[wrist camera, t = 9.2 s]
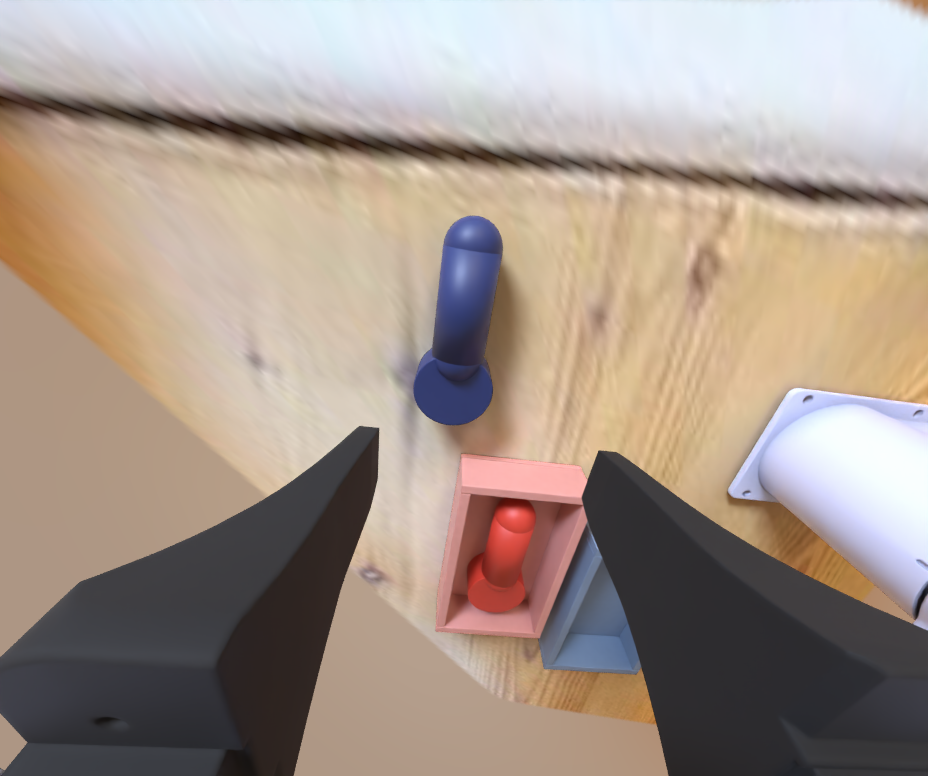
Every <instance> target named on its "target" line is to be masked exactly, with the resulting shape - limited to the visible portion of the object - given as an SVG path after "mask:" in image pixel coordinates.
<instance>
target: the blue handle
mask: <svg viewBox="0 0 928 776" xmlns="http://www.w3.org/2000/svg"><path fill="white" fill-rule="evenodd" d="M502 251H503V244H502V239H501V235H500V233H499V231H498V229H497V228H496V227H495V225H494V224H493V223H491V222H490V221H489V220H487V219H485V218H483V217H479V216H467V217H464V218H461V219H459V220H458V221H456V222H455V223H454V224H453V225H452V226H451V227H450V229H449V230H448V232H447V234H446V236H445V239H444V244H443V254H442V263H441V272H440V281H439V291H438V300H437V309H436V318H435V328H434V337H433V346H432V348H431V349H430V350H429V351H428V352H427V353H426V354H425V355H424V356H423V358H422V359H421V361H420V364H419V367H418V370H417V374H416V378H415V381H414V397H415V401H416V403H417V405H418V407H419V408H420V409H421V411H422V412H423V413H424V414H425V415H426V416H427V417H429V418H430V419H432V420H434V421H436V422H438V423H441V424H446V425H461V424H465V423H469V422H471V421H473V420H475V419H476V418H478V417H479V416H480V415H482V414H483V413H484V411H485V410H486V409H487V407H488V406H489V404H490V402H491V399H492V394H493V386H492V380H491V375H490V371H489V367H488V363H487V361H486V359H485V358H484V354H485V348H486V342H487V337H488V331H489V326H490V320H491V315H492V309H493V303H494V298H495V292H496V287H497V281H498V275H499V270H500V264H501V259H502Z"/></svg>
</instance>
